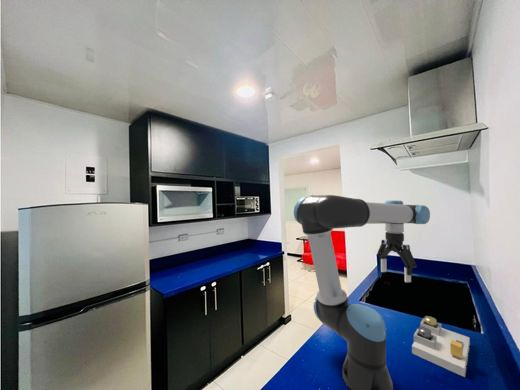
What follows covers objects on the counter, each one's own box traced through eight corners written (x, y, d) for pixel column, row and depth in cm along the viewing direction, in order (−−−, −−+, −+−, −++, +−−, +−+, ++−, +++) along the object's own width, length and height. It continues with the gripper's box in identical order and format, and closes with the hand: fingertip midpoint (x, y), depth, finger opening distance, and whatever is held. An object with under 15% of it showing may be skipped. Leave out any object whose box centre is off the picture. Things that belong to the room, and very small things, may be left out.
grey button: (430, 341, 82) (430, 334, 82) (417, 336, 85) (417, 329, 85) (432, 337, 85) (432, 329, 85) (420, 332, 88) (419, 325, 88)
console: (464, 377, 71) (464, 361, 71) (411, 353, 82) (411, 339, 83) (469, 344, 87) (469, 331, 87) (424, 328, 98) (424, 316, 98)
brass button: (435, 329, 90) (435, 322, 90) (424, 325, 93) (424, 318, 93) (437, 325, 93) (437, 318, 93) (426, 321, 96) (425, 315, 96)
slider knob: (461, 358, 75) (461, 347, 75) (450, 354, 77) (450, 343, 77) (462, 354, 77) (462, 343, 77) (451, 350, 79) (451, 339, 79)
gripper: (426, 236, 88) (427, 286, 88) (381, 228, 113) (381, 267, 112) (411, 236, 87) (412, 287, 86) (369, 228, 111) (369, 268, 110)
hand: (395, 276), depth 99 cm, fingers open, 13 cm apart
